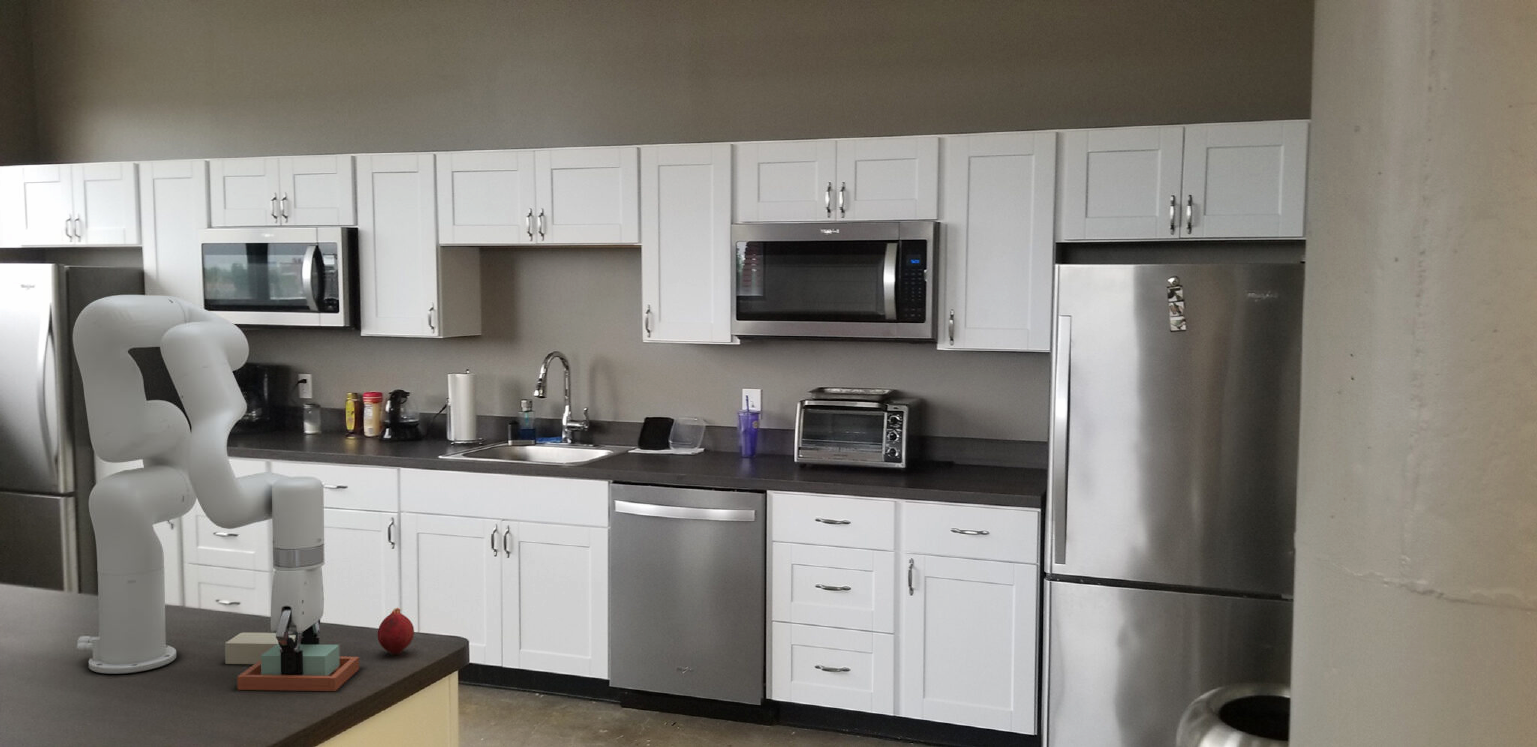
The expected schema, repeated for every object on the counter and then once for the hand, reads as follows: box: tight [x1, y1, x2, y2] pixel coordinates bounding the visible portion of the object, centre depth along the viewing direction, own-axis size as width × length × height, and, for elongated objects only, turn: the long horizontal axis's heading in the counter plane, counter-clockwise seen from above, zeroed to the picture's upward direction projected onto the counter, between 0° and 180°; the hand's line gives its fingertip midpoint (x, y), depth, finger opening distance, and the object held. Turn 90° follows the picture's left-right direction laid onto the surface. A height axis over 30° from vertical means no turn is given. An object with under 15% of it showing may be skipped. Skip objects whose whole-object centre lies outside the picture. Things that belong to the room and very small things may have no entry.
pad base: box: [261, 644, 340, 676], centre depth 182 cm, size 10×6×4 cm, turn 90°
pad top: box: [224, 632, 296, 665], centre depth 192 cm, size 10×6×4 cm, turn 90°
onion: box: [376, 607, 415, 656], centre depth 195 cm, size 6×6×8 cm
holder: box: [236, 656, 360, 692], centre depth 183 cm, size 15×10×2 cm
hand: (300, 667), depth 183 cm, fingers closed on pad base, 6 cm apart
